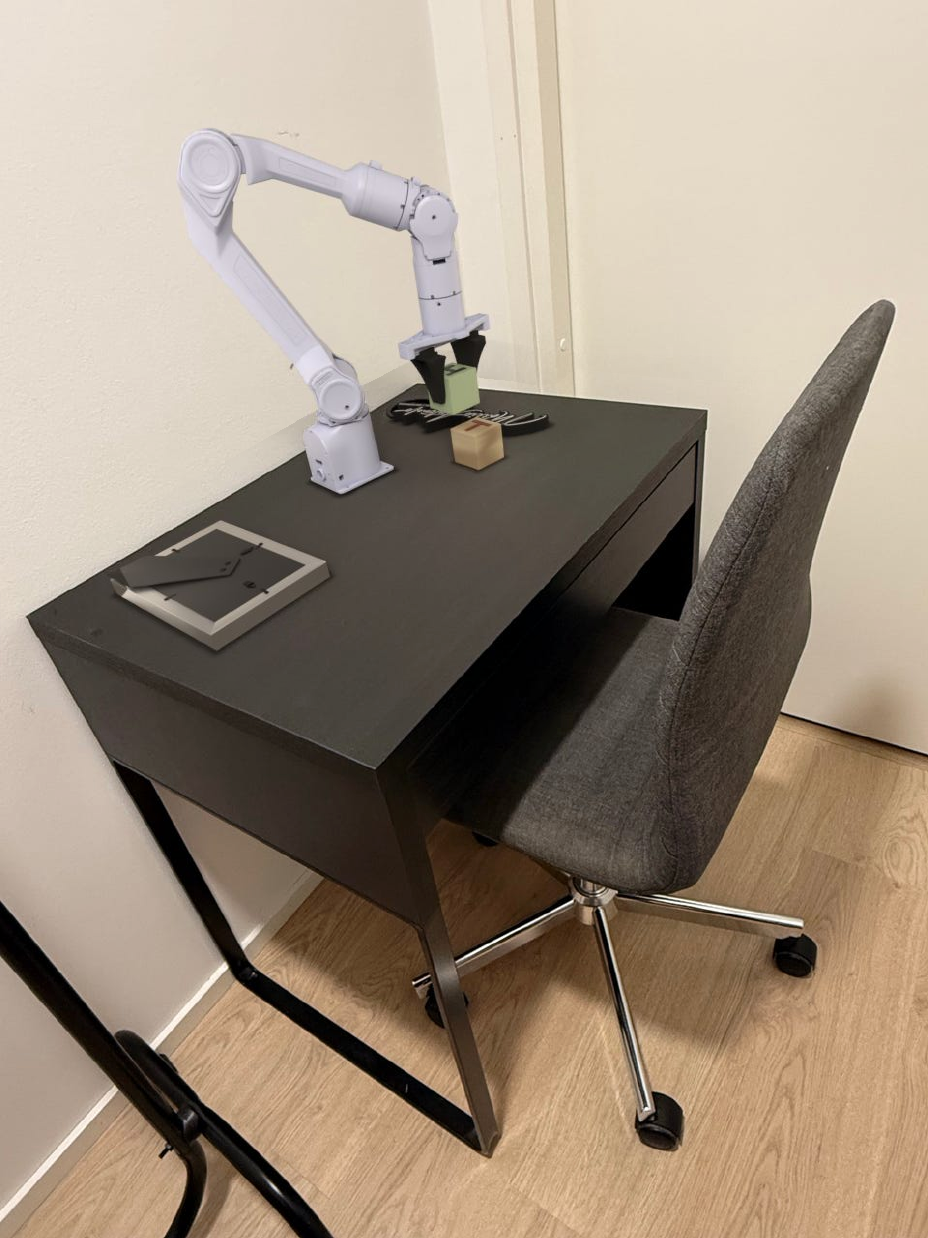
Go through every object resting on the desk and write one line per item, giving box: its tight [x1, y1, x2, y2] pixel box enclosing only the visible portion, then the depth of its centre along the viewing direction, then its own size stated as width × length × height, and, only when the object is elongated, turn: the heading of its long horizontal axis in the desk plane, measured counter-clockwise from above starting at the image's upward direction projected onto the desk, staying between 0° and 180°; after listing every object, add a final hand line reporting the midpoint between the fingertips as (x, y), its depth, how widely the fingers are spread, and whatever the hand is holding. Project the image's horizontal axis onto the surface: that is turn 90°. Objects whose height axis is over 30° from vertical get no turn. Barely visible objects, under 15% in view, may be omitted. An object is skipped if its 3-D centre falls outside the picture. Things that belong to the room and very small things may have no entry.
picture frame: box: [107, 520, 331, 652], centre depth 86 cm, size 16×3×21 cm
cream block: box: [450, 417, 505, 471], centre depth 105 cm, size 5×5×5 cm
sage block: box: [427, 362, 481, 415], centre depth 104 cm, size 5×5×5 cm
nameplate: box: [391, 401, 550, 437], centre depth 118 cm, size 28×2×10 cm
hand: (453, 396), depth 104 cm, fingers closed on sage block, 5 cm apart
